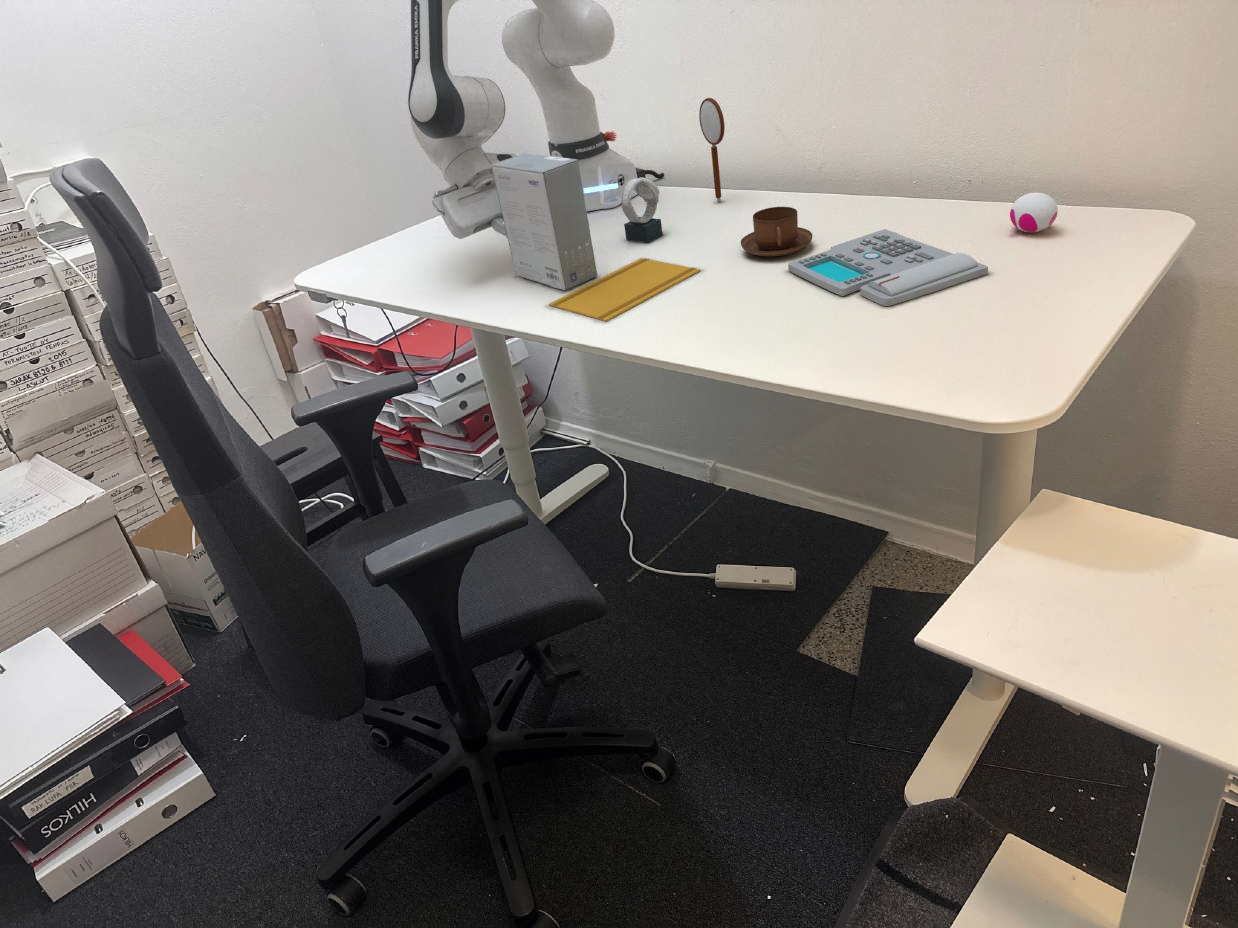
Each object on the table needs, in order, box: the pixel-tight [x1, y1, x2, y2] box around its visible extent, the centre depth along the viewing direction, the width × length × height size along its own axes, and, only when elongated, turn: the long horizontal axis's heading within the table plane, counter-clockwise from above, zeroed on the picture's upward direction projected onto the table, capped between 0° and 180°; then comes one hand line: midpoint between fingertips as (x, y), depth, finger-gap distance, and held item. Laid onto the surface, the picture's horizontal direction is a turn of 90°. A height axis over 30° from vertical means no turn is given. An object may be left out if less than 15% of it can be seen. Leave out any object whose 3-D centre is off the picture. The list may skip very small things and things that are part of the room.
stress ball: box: [1009, 192, 1059, 236], centre depth 128 cm, size 8×8×7 cm
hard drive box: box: [491, 153, 598, 291], centre depth 141 cm, size 16×8×20 cm, turn 41°
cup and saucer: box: [740, 206, 813, 257], centre depth 138 cm, size 12×12×6 cm
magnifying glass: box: [698, 97, 725, 203], centre depth 163 cm, size 9×2×20 cm, turn 23°
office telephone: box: [787, 228, 989, 307], centre depth 124 cm, size 23×3×20 cm
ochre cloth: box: [548, 257, 701, 322], centre depth 136 cm, size 22×14×1 cm, turn 134°
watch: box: [621, 178, 664, 244], centre depth 154 cm, size 6×8×11 cm
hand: (518, 237), depth 148 cm, fingers closed
